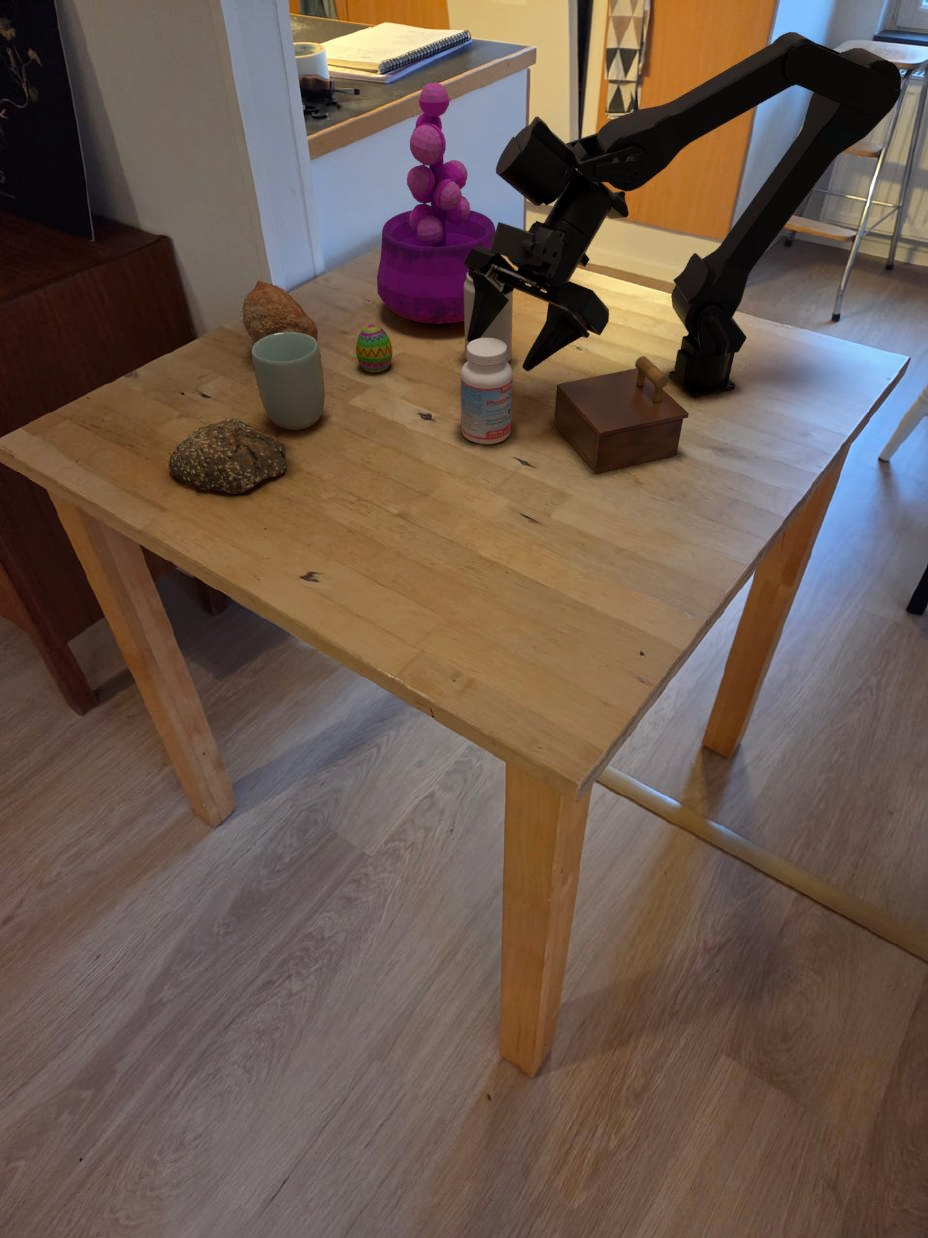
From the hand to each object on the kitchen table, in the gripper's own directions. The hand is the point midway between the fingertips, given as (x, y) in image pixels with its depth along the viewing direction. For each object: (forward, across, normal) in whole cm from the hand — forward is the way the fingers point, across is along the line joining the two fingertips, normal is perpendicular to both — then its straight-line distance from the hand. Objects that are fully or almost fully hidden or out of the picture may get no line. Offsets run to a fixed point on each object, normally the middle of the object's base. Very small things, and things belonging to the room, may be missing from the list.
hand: (496, 355), depth 98 cm
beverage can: (-1, -13, +15) cm, 20 cm away
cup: (+19, -18, -5) cm, 27 cm away
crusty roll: (+13, -34, +1) cm, 36 cm away
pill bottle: (+8, 0, +6) cm, 10 cm away
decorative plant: (-5, -29, +19) cm, 35 cm away
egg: (+8, -23, +6) cm, 25 cm away
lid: (-3, +12, +10) cm, 15 cm away
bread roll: (+27, -15, -13) cm, 33 cm away
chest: (+1, +12, +13) cm, 17 cm away
